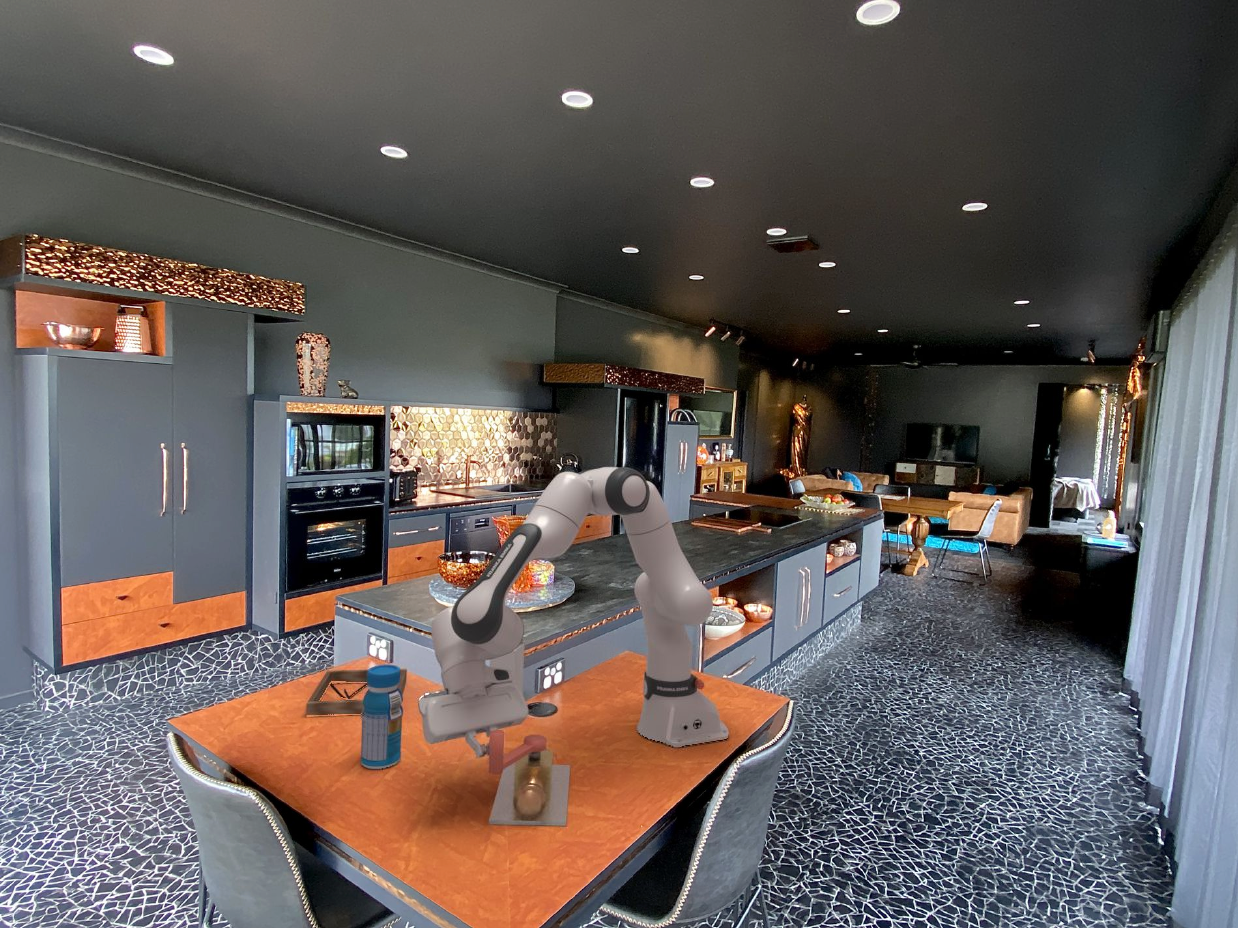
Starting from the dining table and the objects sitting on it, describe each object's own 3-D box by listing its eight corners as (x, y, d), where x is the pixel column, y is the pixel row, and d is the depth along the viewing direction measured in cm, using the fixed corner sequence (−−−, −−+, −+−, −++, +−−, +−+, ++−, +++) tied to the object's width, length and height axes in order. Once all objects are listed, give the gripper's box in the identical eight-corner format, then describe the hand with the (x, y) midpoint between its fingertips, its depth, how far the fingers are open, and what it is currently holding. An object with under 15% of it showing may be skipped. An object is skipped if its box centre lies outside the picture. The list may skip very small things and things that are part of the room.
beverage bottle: (360, 773, 140) (364, 677, 139) (358, 755, 147) (361, 664, 147) (403, 767, 143) (406, 673, 143) (399, 750, 151) (402, 661, 150)
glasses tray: (406, 680, 194) (406, 668, 194) (397, 713, 171) (397, 700, 171) (326, 682, 190) (327, 670, 190) (306, 717, 166) (306, 703, 166)
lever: (532, 740, 137) (533, 705, 137) (550, 746, 135) (551, 710, 135) (481, 770, 124) (483, 732, 123) (500, 777, 121) (502, 738, 121)
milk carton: (513, 707, 178) (516, 635, 178) (488, 703, 180) (490, 633, 179) (522, 697, 185) (525, 628, 185) (498, 694, 187) (500, 626, 186)
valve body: (504, 767, 145) (506, 725, 145) (570, 768, 146) (571, 726, 145) (489, 824, 123) (490, 774, 123) (566, 825, 124) (568, 776, 123)
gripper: (420, 686, 124) (438, 760, 116) (519, 669, 136) (541, 735, 129) (410, 702, 128) (427, 775, 120) (508, 684, 140) (528, 749, 132)
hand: (487, 754), depth 124 cm, fingers closed
